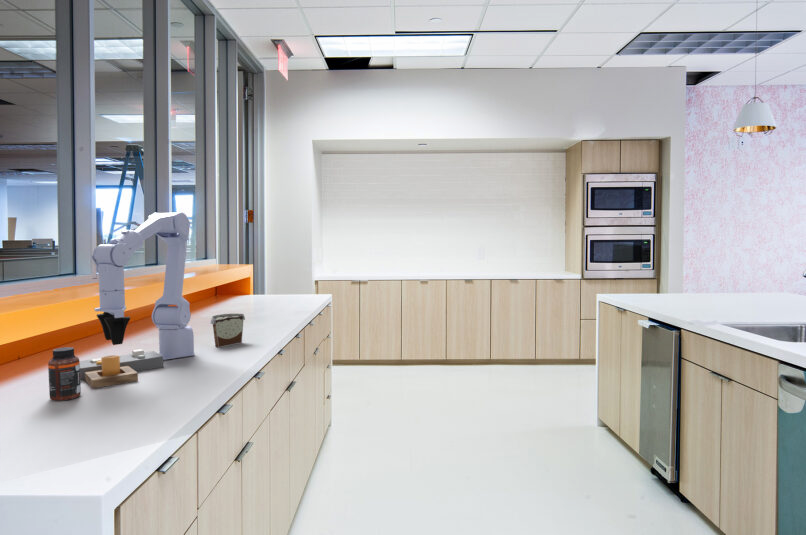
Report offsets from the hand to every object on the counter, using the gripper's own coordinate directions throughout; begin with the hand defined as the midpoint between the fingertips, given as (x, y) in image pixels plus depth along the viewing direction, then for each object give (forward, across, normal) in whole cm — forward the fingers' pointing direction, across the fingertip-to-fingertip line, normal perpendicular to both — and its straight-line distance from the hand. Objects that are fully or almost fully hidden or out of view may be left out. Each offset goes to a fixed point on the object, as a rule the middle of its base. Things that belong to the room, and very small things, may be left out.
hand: (114, 341), depth 131 cm
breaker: (+7, -8, +8) cm, 13 cm away
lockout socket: (+9, +3, -2) cm, 10 cm away
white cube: (+8, -8, -2) cm, 12 cm away
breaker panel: (+9, -7, +2) cm, 12 cm away
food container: (+10, -21, +38) cm, 44 cm away
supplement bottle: (+9, +12, -13) cm, 20 cm away
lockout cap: (+9, +3, -2) cm, 10 cm away
